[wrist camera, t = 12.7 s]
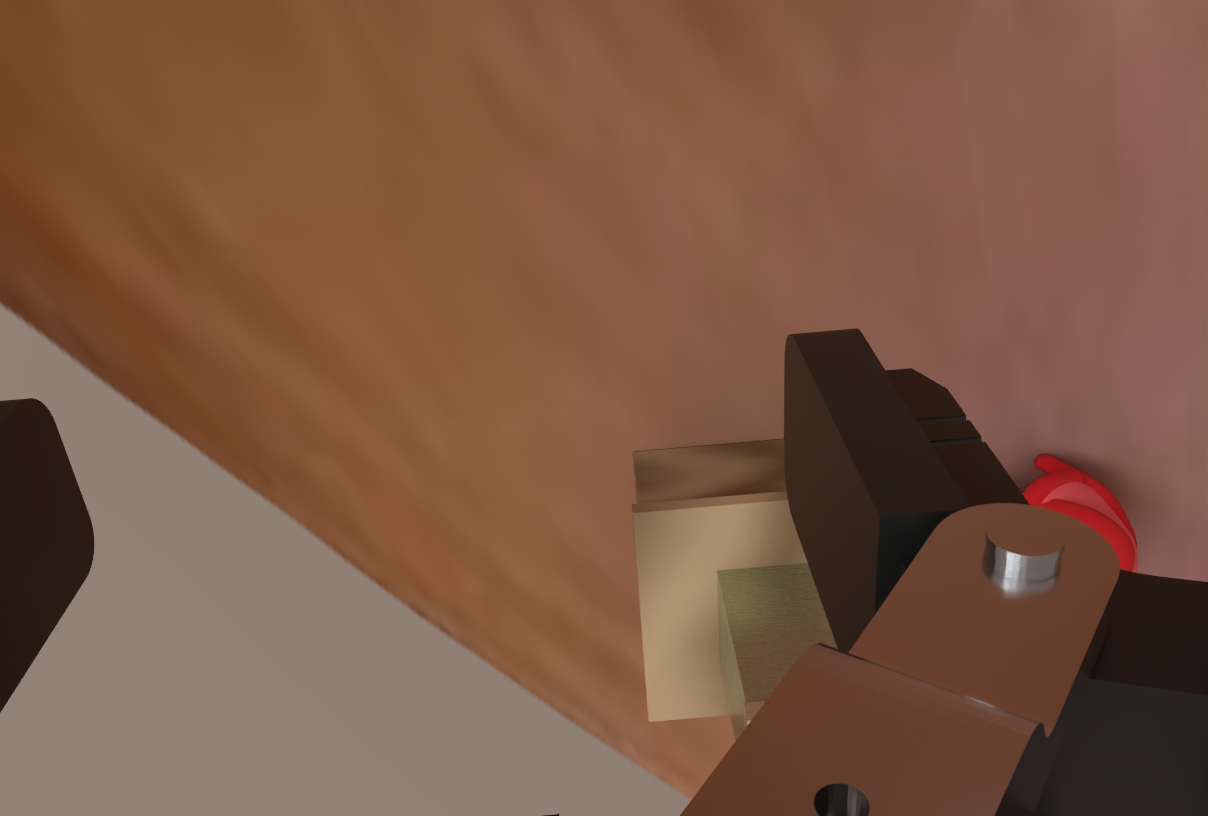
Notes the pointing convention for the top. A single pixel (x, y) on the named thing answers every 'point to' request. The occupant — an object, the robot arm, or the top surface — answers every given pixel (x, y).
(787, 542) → the beige flat block
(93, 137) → the top surface
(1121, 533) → the cap
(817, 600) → the tea tin
